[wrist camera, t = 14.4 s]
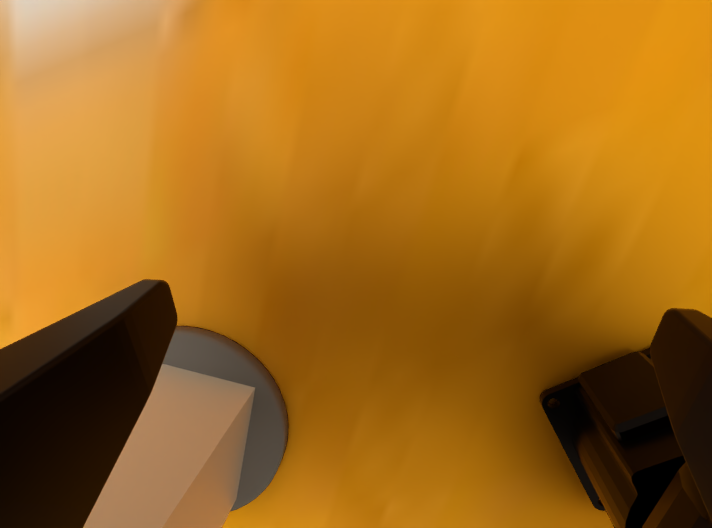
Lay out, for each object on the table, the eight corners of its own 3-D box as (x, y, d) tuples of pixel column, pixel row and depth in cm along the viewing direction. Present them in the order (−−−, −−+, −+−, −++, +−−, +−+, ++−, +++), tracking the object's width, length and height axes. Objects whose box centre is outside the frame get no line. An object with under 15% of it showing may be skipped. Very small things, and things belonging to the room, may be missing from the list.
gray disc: (324, 461, 24) (320, 475, 23) (169, 525, 26) (160, 540, 25) (219, 292, 22) (210, 298, 21) (64, 375, 25) (49, 385, 24)
